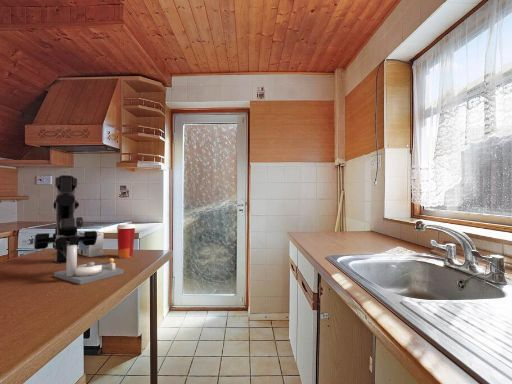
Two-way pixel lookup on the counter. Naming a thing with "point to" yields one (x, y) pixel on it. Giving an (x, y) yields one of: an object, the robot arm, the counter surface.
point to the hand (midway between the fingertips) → (68, 259)
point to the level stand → (106, 272)
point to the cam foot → (83, 269)
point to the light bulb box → (92, 246)
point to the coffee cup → (125, 240)
